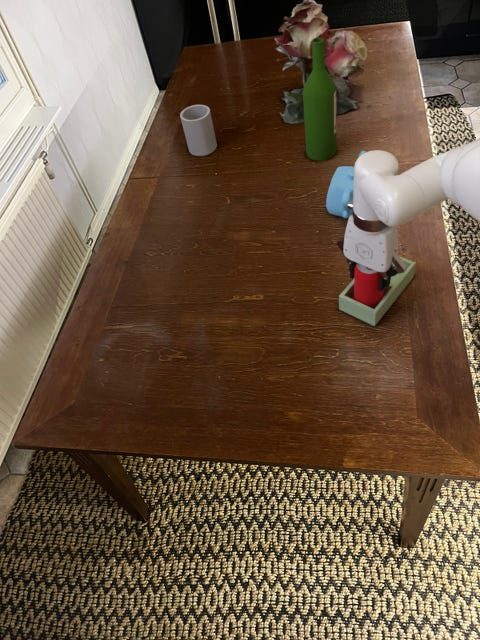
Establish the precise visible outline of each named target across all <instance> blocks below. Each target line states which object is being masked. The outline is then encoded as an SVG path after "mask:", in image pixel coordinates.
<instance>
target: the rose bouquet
mask: <svg viewBox="0 0 480 640" xmlns="http://www.w3.org/2000/svg"><path fill="white" fill-rule="evenodd" d="M323 6H324V5H323V4H322V3H321V4H320V3H317V2H316V1H315V0H303V1H302V3H299V4H296V5H295V7H293V9H292V11H291V16H289V17H287V16H284V17H283V21H284V22H283V23H282V25H281V26H280V27H279V28H278V33H280V32H281V33H282V37H274V41H275V45H278V47H275V49H276V51H278V52H279V53H281V54H285V55H287V57H288V58H289V61H287V62H286V63H285V64H284V65H283V66H282V71H283V72H284V71H286V70H287V69H290V68H292V67H294V66H295V67H296V68H298V70H299V71H300V72H301V74H302V83H303V86H304V85H305V83H306V81H307V79H308V78H309V76H310V74H311V72H312V70H313V53H312V40H313V39H315V38H323V39H324V58H325V69H326V71H327V72H328V74H329V75H330V77H332V79H333V81H334V83H335V87H336V116H337V115H342V114H344V113H347V112H348V111H350V110H357V109H358V106H357V105H356V103H358V101H356V100H354V99H353V98H351V97H350V94H351V93H352V90H351V88H350V87H349V85H348V84H347V83H353V84H354V85H356V82H354V81H353V80H350V78H352V79H355V78H358V77H359V76H362V75H363V74H364V72H365V69H364V67H365V66H366V63H365V61H366V59H367V57H368V48H367V45H366V42H364V41H363V40H362V39H361V38H360V35H359V34H358V33H356V32H354V31H353V30H341V29H339V30H337V31H336V32H334V35H333V36H332V34H333V33H332V32H331V31H330V25H329V22H328V16H327V15H326V14H325V13H323ZM303 89H304V87H302V88H295V89H292V91H289V90H282V93H283V97H281V101H285V104H286V105H285V108H284V112H283V113H281V112H279V114H280V115H281V118H282V119H283V122H284V123H285V124H290V125H294V124H295V125H296V124H303V123H305V121H304V103H303ZM348 96H349V97H348Z"/></svg>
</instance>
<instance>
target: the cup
mask: <svg viewBox="0 0 480 640" xmlns="http://www.w3.org/2000/svg"><path fill="white" fill-rule="evenodd" d="M179 115H180V116H179V118H180V121H181V125H182V128H183V132H184V136H185V141H186V145H187V148H188V152H189V153H190V155H192V156H196V157H204V156H207V155H210V154H212V153H213V152H215V150H217V147H218V144H217V143H218V142H217V138H216V133H215V128H214V123H213V119H212V114H211V109H210V107H209V106H207V105H204V104H194V105H190V106H187V107H185V108H184V109H183V110H182V111H181V112H180V114H179Z"/></svg>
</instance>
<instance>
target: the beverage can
mask: <svg viewBox="0 0 480 640" xmlns="http://www.w3.org/2000/svg"><path fill="white" fill-rule="evenodd" d="M381 276H382V275H381V272H379V271H376V270H373V269H371V268H368V267H366V266H364V265H361V264H359V263H357V264H356V266H355V273H354V278H353V279H354V300H355V301H357V302H360V303H362V304H364V305H366V306H368V307H370V308H373V309H375V308H376V307H377V306H378V304H379V303H380V302H381V301H382V299H383V291H382V292H381V291H379V278H380V277H381Z"/></svg>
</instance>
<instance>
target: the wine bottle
mask: <svg viewBox="0 0 480 640" xmlns="http://www.w3.org/2000/svg"><path fill="white" fill-rule="evenodd" d="M312 53H313V70H312V72H311V74H310V76H309V78H307V81H306V83H305V85H304V84H303V88H304V89H303V103H304V121H305V122H304V138H305V139H304V140H305V154H306V156H307V158H309V159H310V160H313V161H317V162H318V161H319V162H320V161H322V162H323V161H327V160H330V159H332V158H333V157H335V155H336V153H337V115H336V87H335V83H334V81H333V77H332V76H331V75H330V74H328V72H327V71H326V69H325V58H324V39H323V38H315V39H313V40H312Z"/></svg>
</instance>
